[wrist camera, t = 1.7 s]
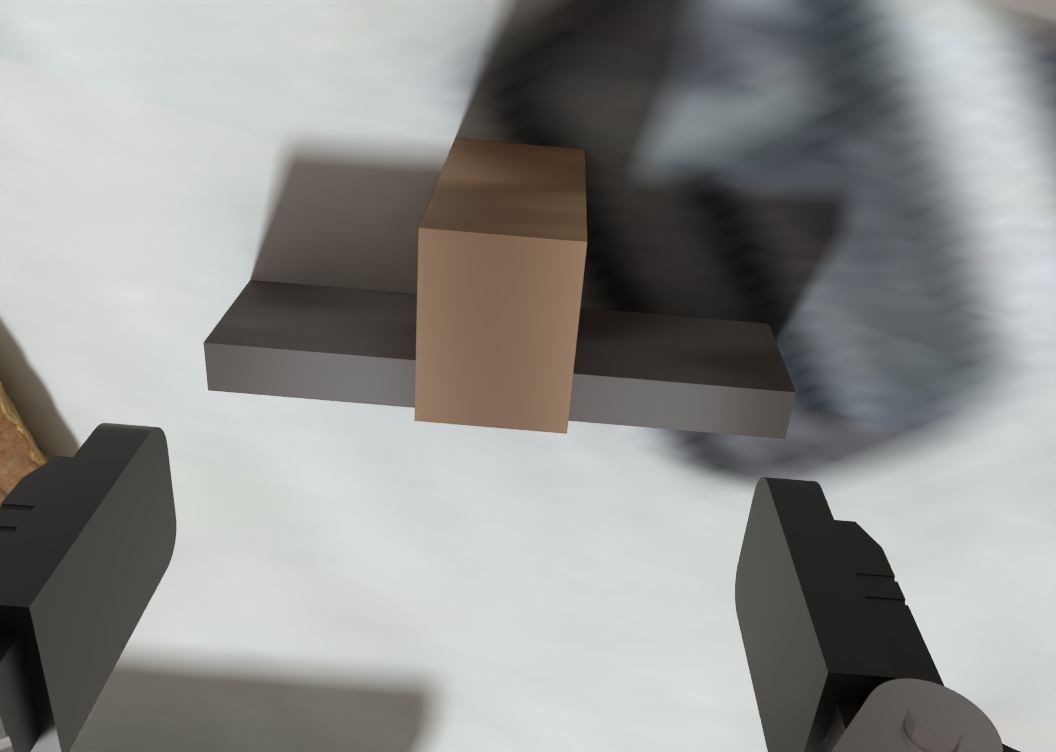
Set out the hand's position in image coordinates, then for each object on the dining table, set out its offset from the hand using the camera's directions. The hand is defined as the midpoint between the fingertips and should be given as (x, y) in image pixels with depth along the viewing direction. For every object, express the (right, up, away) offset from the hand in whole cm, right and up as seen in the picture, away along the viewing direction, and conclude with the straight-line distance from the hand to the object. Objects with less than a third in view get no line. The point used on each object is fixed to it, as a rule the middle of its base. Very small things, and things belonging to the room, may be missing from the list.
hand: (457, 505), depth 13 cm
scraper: (+1, +5, +10) cm, 12 cm away
